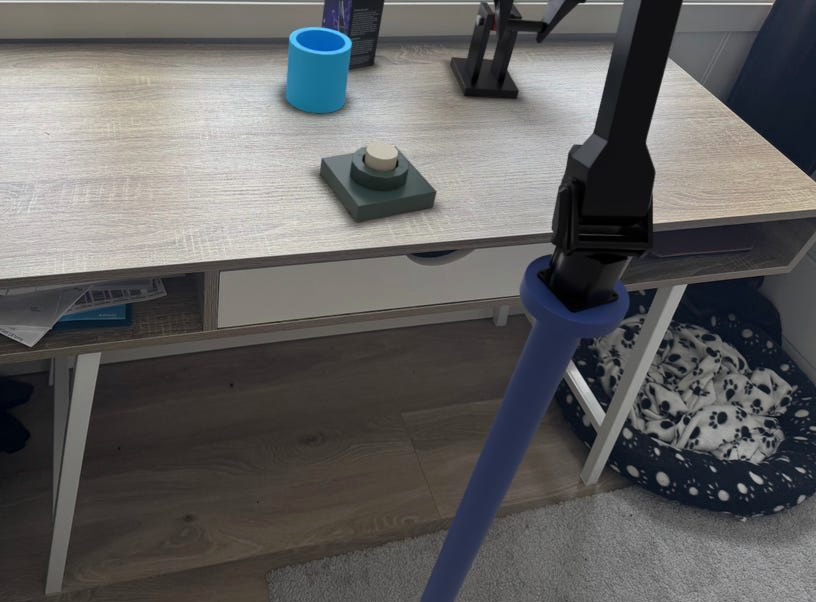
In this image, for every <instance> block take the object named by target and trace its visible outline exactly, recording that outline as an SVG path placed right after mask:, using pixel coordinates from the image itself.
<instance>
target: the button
mask: <svg viewBox="0 0 816 602" xmlns="http://www.w3.org/2000/svg"><path fill="white" fill-rule="evenodd" d="M366 147H367V149H366V155H365V165H366V166H367V167H369V168H371V169H373V170H377V171H384V172H386V171H392V170H394V168H395V167H396V162H397V157H398V150H397V149H396V148H395V147H394V145H392V144H390V143H387V142H383V141H376V142H371V143H369V144H368V145H367V146H366Z"/></svg>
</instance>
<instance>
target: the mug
mask: <svg viewBox="0 0 816 602" xmlns="http://www.w3.org/2000/svg"><path fill="white" fill-rule="evenodd" d="M351 45H352V42H351V40H350V39H349V38H348V37H347V36H346V35H344V34H343V33H340V32H338V31H335V30H331V29H328V28H321V27H320V26H315V27H314V26H313V27H311V26H309V27H301V28H299V29H296V30H294V31H293V32H292V33H290V34H289V39H288V53H287V70H286V83H285V84H286V87H285V99H286V101H287V103H288V104H289V105H291V106H292V107H294V108H296V109H298V110H300V111H303V112H306V113H311V114H313V113H314V114H328V113H333V112H337V111H338V110H340V109H342V108H343V106H345V102H346V93H347V85H348V78H349V71H350V70H349V69H350V68H349V62H350V54H351Z"/></svg>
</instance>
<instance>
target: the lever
mask: <svg viewBox="0 0 816 602" xmlns="http://www.w3.org/2000/svg"><path fill="white" fill-rule="evenodd" d="M493 13H494V19H493V23H492V27H491V31H490V32H496V20H495V11H493ZM542 30H543V21H541V20H533V19H522V20H519V19H509V20H508V24H507V27H506V31H505V32H507V31H518V33H519V32H522V33H535V34H537V33H541V32H542Z"/></svg>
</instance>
